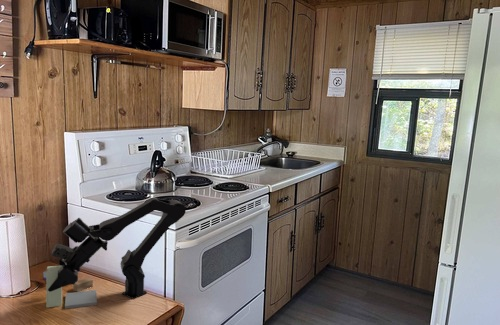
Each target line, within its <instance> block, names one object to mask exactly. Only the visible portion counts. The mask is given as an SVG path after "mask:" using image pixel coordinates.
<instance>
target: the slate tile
mask: <svg viewBox="0 0 500 325" xmlns="http://www.w3.org/2000/svg"><path fill="white" fill-rule="evenodd" d="M97 295H98V294H97V289H93V290H82V291H79V292H77V291H74V292H68V293H67V292H66V293H65V301H64V302H65V303H64V309H65V310H66V309H74V308H82V307H89V306H98V297H97Z"/></svg>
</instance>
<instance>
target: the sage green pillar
mask: <svg viewBox="0 0 500 325" xmlns="http://www.w3.org/2000/svg"><path fill="white" fill-rule="evenodd" d="M61 267H62V265H61V266H59V265H52V266H47V268H46V270H45V271H46V280H45V281H46V285H45V286H46V288H45V292H46V294H45V295H46V296H45V297H46V298H45V299H46V302H45V305H46V308H55V307H62V301H63V300H62V299H63V289H62V288H63V287H61V288H59V289H56V290H54V291H51V292H49V291H48V288H49V287H50V286H51V284H52V283H53V282H54V281H55V279H56V278H57V277H58V270H59V269H60V268H61Z"/></svg>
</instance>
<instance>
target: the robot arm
mask: <svg viewBox="0 0 500 325" xmlns="http://www.w3.org/2000/svg"><path fill="white" fill-rule="evenodd" d="M154 211H158V212H161V213H162V215H161V217H160V219H159V220H158V221H157V222H156V224H155V225H154V226H153V228H152V229H151V230H150V231H149V233H147V235H146V236H145V237H144V239H142V241H141V242H140V243H139V244H138V246H137V247H136V248H135V249H134V250H132V251H131V249H127V251H126V253H125V254H124V255H123V256H121V260H120V269H121V272H122V275H123V276H124V277H125V282H124V285H125V286H124V288H125V289H124V291H122V292H121V294H122V295H124V296H125V297H128V298H131V299H133V300H134V299H136V298H139V297H141V296H143V295H146V294H147V293H148V291H147V290H144V288H145V287H144V286H145V277H146V276H145V273H144V271H143V268H142V266H143V263H144V261H145V259H146V257H147V255H148V254H149V253H150V252H151V251H152V249H153V248H154V246H155V245H156V244H157V243H158V241H159V240H160V239H161V238H162V237H163V235H164V234H165V233H166V232H167V230H169V228H170V227H171V226H172V225H174V224H176V223H177V222H179V220H181V219H182V218H183V217H184V216H185V214H186V206H185V205H184V204H183V203H182V202H181V201H179V200H176V199H171V200H167V199H162V198H158V197H157V198H156V197H154V196H153V197H151V198H149V199H148V200H146V201H144V202H142V203H141V204H139V205H138V206H135V207H134V208H132V209H129V211H126V212H125V213H123V214H121V215H119V216H116V217H112V218H111V217H110V218H108V219H105V220H103V221H101V222H100V223H97V224H93V225H88V224H86V223H85V222H84V221H83V219H82V218H80V217H78V218H76V219H75V220H73V221H72V222H70V223H69V224H67V226H66V227H64V229H63V231H62V233H63V234H64V235H65V236H67V237H68V238H69V239H70V240H72V241H73V242H74V243H76V244H77V243H78V244H80V245H76V246H74V247H73V248H72V247H70V246H67V245H65V244H61V243H55V245H54V247H53V249H52V250H51V256H53V257H54V258H59V263H58V266H61V265H62V267H61V268H60V269H59V270H58V277H57V278H56V279H55V281H54V282H53V283H52V284H51V286H50V287H49V288H48V291H49V292H51V291H54V290H56V289H59V288H61V287H62V288H64V287H67V286H68V285H69V286H70V285H74V284H75V283H76V282H77V281H79V272H81V268H82V266H84V264H86V263H89V262H90V259H91V258H92V257H93V256H94V255H95V254H96V253H97V252H98V251H99V250H100V249H101V248H102V249H103V250H104V251H108V241H111V240H113V239H114V238H116V237H117V236H118V235H120V233H121V232H122V231H124V229H125V228H127V227H128V226H130V225H131V224H134V223H135V222H136V221H139V220H140V219H142V218H144V217H146V216H147V215H149V214H150V213H152V212H154ZM76 271H78V272H76Z"/></svg>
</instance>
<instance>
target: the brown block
mask: <svg viewBox="0 0 500 325" xmlns="http://www.w3.org/2000/svg"><path fill="white" fill-rule="evenodd" d="M93 281H94V280H93V279H92V278H89V277H86V278H83V279H78V281H77V282H76V283H75V284H74V285H73V284H72V285H73V286H72V289H73V291H74V292H83V291H86V290H88V289H91V288H93V287H94V286H93V284H94V282H93ZM90 287H91V288H90ZM87 288H88V289H87Z"/></svg>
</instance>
